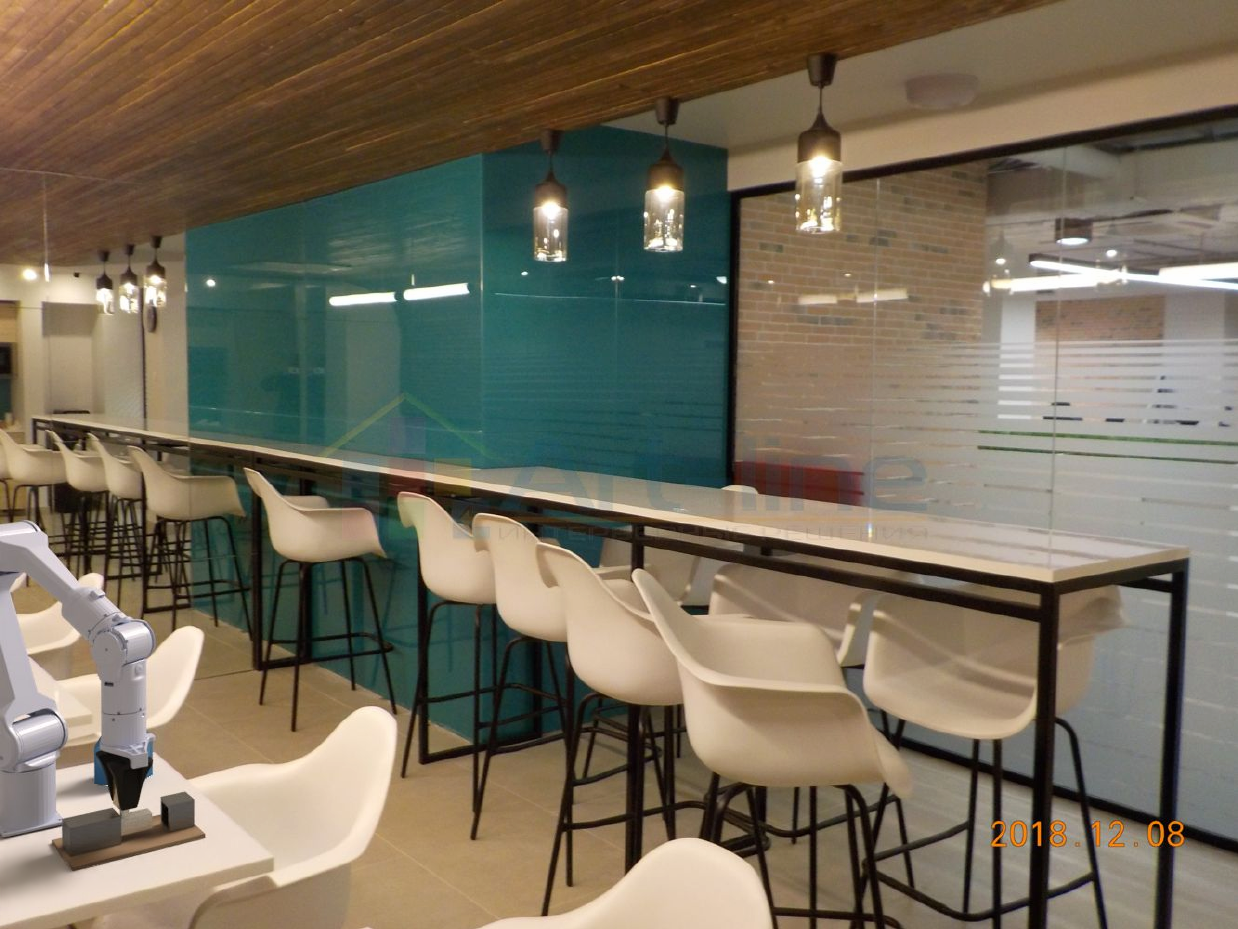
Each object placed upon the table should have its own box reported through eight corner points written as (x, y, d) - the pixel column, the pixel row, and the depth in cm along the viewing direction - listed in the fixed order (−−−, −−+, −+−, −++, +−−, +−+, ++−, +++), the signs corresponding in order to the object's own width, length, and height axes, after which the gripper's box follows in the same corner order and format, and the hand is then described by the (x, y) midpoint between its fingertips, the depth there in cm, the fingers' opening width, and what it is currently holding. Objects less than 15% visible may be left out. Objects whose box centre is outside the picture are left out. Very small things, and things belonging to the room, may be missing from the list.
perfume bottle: (128, 788, 167) (127, 714, 167) (94, 784, 169) (93, 711, 168) (152, 775, 173) (152, 703, 173) (119, 771, 175) (119, 700, 174)
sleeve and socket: (62, 847, 144) (62, 818, 144) (185, 818, 155) (185, 791, 155) (69, 857, 141) (69, 828, 141) (194, 826, 152) (194, 799, 152)
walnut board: (52, 843, 147) (51, 839, 147) (179, 813, 158) (179, 810, 158) (72, 871, 138) (72, 867, 138) (205, 837, 150) (205, 834, 150)
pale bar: (69, 839, 145) (69, 788, 144) (145, 821, 151) (145, 772, 151) (76, 848, 142) (76, 796, 141) (153, 829, 148) (153, 780, 148)
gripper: (170, 716, 144) (171, 813, 145) (137, 692, 155) (138, 782, 155) (115, 726, 139) (116, 826, 140) (85, 700, 150) (86, 793, 151)
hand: (124, 804), depth 147 cm, fingers closed on pale bar, 4 cm apart
